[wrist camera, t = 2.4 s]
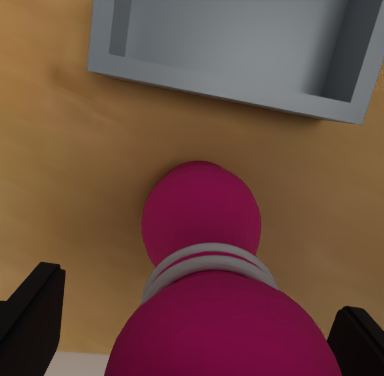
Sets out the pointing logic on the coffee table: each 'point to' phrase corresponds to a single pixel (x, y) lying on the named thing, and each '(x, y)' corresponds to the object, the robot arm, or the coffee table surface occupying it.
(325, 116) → the bin
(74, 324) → the coffee table surface
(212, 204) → the pepper mill
